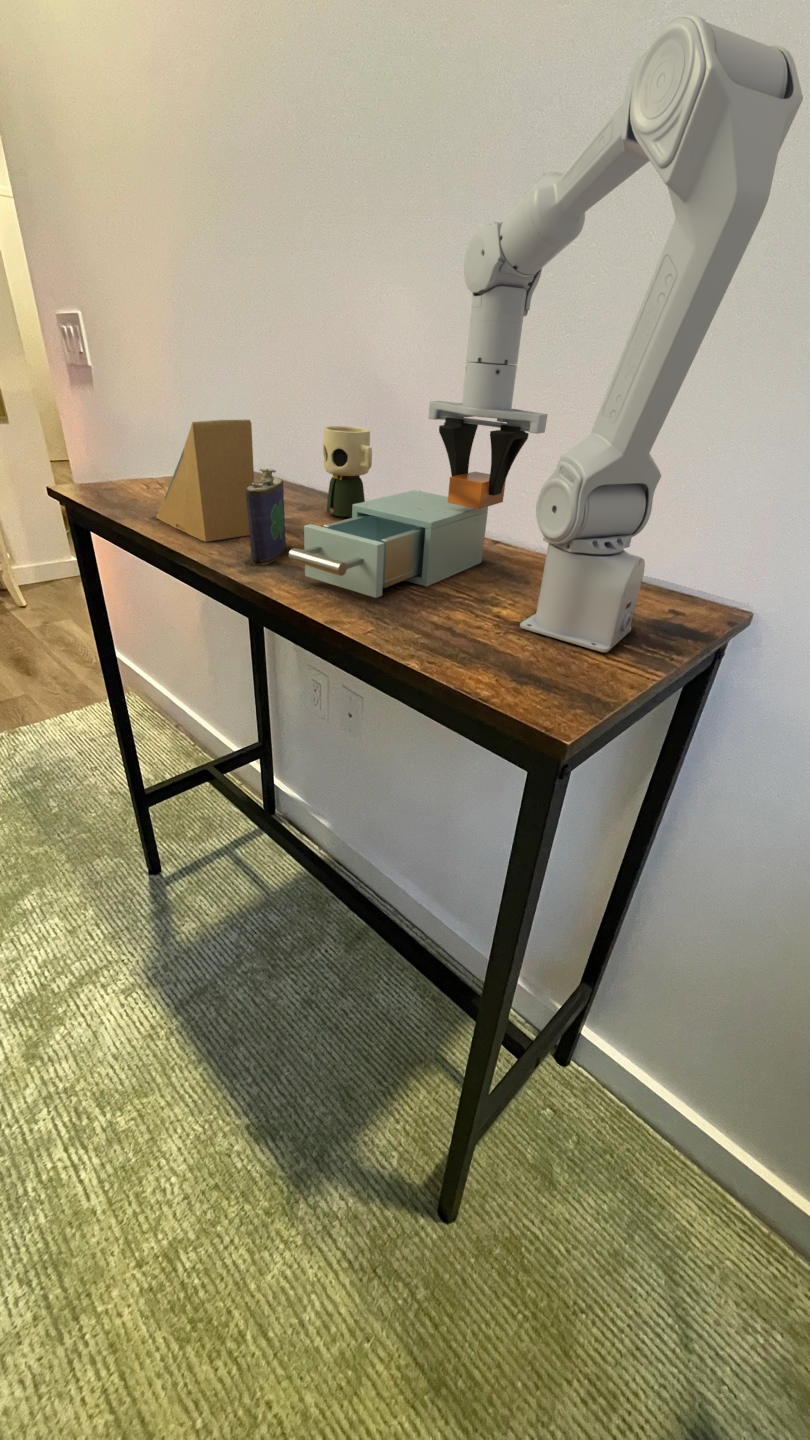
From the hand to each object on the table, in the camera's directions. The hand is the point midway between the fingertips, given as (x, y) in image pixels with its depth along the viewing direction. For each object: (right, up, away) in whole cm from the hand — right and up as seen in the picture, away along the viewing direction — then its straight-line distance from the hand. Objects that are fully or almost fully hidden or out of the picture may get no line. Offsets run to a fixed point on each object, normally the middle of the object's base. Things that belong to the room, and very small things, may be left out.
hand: (477, 490), depth 78 cm
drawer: (-14, -11, -3) cm, 18 cm away
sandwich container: (-38, 0, +16) cm, 41 cm away
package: (0, -1, +1) cm, 1 cm away
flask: (-27, -7, +5) cm, 28 cm away
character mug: (-19, +5, +26) cm, 32 cm away
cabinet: (-7, -8, +6) cm, 12 cm away
